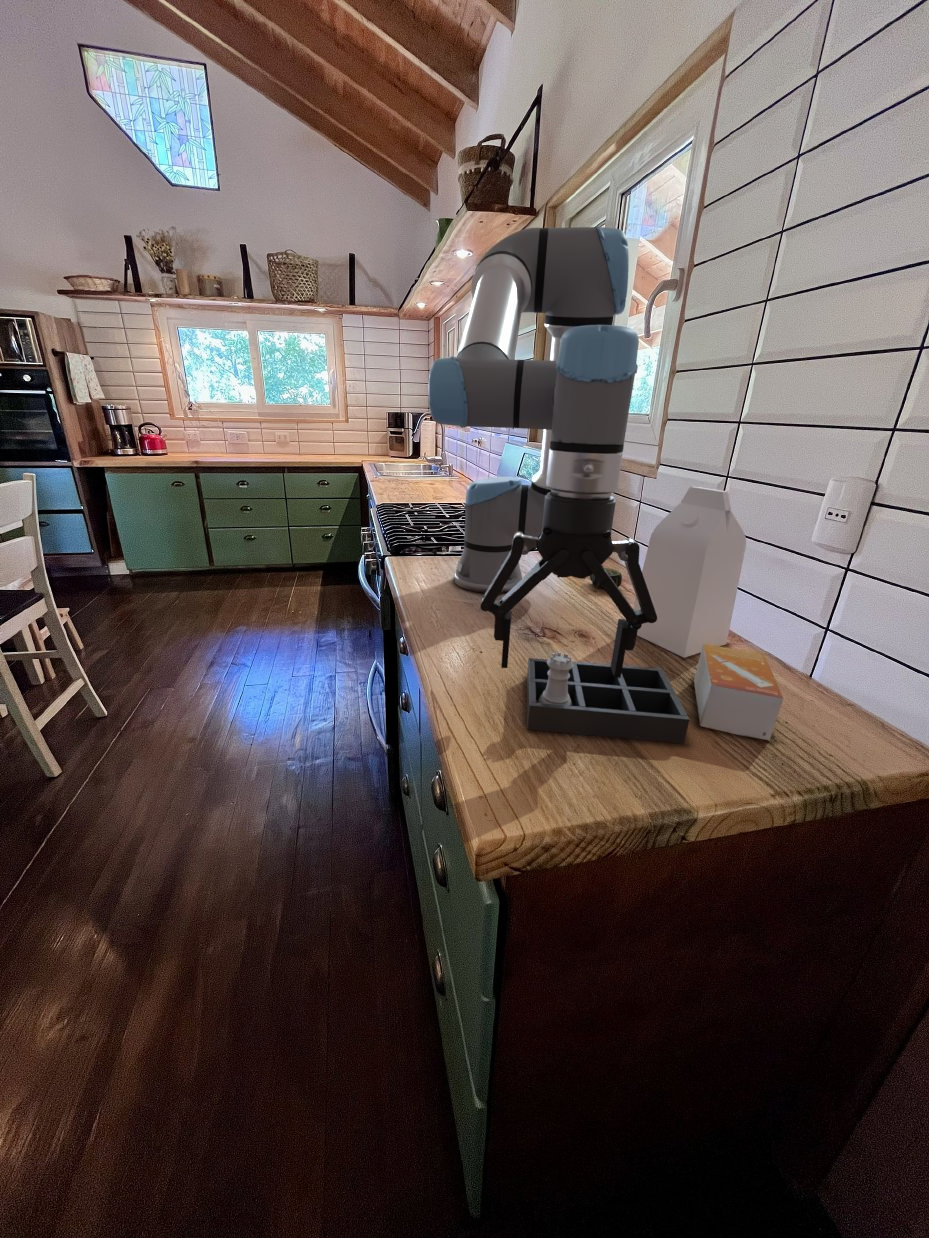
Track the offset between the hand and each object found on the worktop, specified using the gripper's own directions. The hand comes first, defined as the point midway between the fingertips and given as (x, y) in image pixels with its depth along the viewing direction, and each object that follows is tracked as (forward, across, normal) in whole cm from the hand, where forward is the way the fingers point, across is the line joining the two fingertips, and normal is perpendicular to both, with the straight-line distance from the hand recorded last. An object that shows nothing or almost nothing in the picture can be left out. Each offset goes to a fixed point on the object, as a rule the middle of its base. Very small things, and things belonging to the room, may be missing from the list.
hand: (559, 667), depth 62 cm
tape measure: (+7, +14, +55) cm, 57 cm away
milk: (+7, +23, +29) cm, 38 cm away
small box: (+4, +25, +12) cm, 29 cm away
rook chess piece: (+7, 0, 0) cm, 7 cm away
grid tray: (+7, +6, +3) cm, 10 cm away
